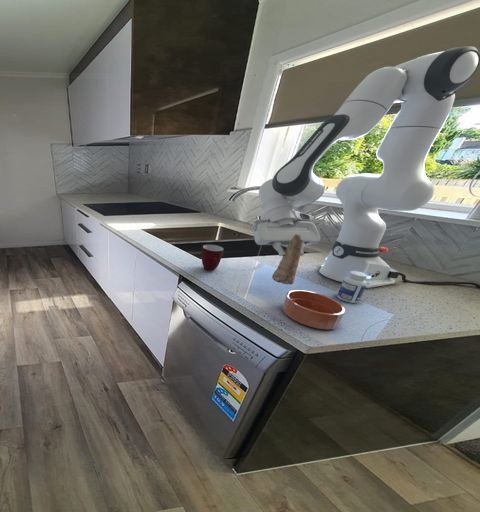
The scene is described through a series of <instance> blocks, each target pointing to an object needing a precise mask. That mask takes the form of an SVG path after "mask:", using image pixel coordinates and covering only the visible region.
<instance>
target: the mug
mask: <svg viewBox="0 0 480 512" xmlns="http://www.w3.org/2000/svg"><path fill="white" fill-rule="evenodd" d="M224 249H225V248H224V247H222V246H220V245H217V244H204V245H202V249H201V264H202V266H203V269H204V270H205V271H207V272H214V271H215V270H216V269H217V268H218V267H219V265H220V262H221V260H222V258H223V255H224Z"/></svg>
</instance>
